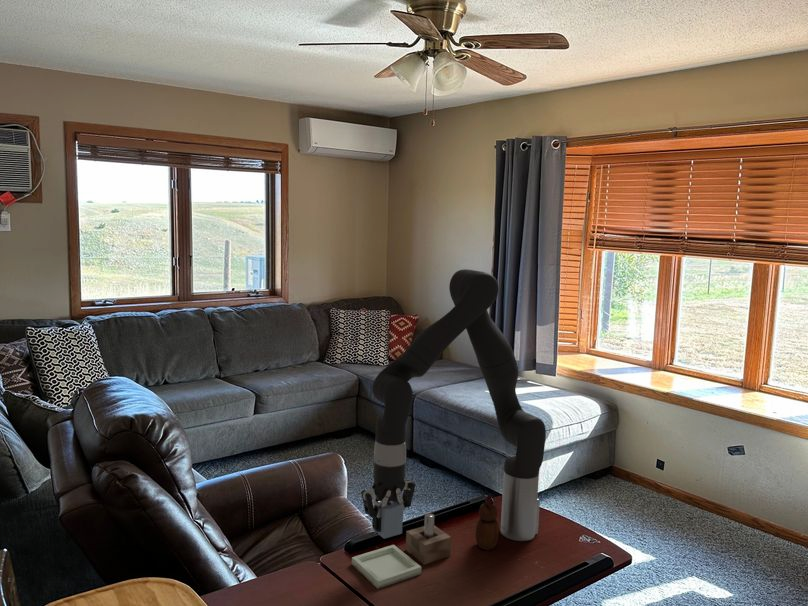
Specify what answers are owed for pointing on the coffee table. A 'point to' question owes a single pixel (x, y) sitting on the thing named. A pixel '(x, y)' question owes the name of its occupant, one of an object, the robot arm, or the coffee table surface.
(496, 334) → the robot arm
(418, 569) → the tray
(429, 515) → the pin
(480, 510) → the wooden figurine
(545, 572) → the coffee table surface
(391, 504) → the slate block
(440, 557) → the wooden socket block
